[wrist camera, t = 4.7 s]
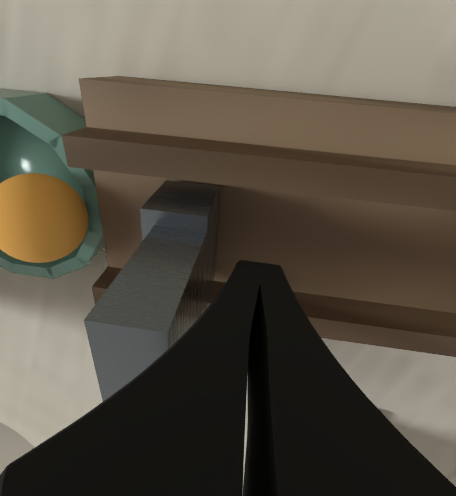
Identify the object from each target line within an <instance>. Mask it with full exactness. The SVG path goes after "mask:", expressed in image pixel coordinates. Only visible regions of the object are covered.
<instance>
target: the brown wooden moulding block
mask: <svg viewBox="0 0 456 496" xmlns="http://www.w3.org/2000/svg"><path fill="white" fill-rule="evenodd" d="M79 83H80V89H81V96H82V102H83V108H84V115H85V121H86V127H85V128H82V129H79V130H76V131H73V132H70V133H67V134H64V135H62V140H63V145H64V150H65V155H66V160H67V165H68V167H72V168H81V169H89V170H93V172H94V178H95V185H96V191H97V197H98V204H99V210H100V216H101V223H102V229H103V235H104V242H105V248H106V254H107V261H108V268H107V269H106V270H105V271H104V273H103V274H102V275H101V276H100V277H99V279H98V280H97V281H96V282H95V284H94V285H93V286H92V290H93V295H94V300H95V305H96V304H97V302H98V301H99V299H100V298H101V297H102V295H103V294H104V293H105V291H106V290H107V289H108V287H109V286H110V285H111V283H112V282H113V281H114V279H115V278H116V276H117V275H118V274H119V272H120V271H121V270H122V268H123V267H124V266H125V264H126V263H127V262H128V260H129V259H130V257H131V256H132V255H133V253H134V252H135V251H136V249H137V248H138V247H139V245H140V244H141V243H142V241H143V240H142V228H141V216H140V208H141V207H142V206H143V205H144V203H145V202H146V201H147V200H148V199H149V198H150V197H151V196H152V195H153V194H154V193H155V192H156V191H157V189H158V188H159V187H160V186H161V185H162V184H163V183H164V182H165V181H166V180H170V181H179V182H188V183H196V184H205V185H214V186H220V202H219V218H218V233H217V249H216V265H215V277H214V281H213V284H212V288H211V292H210V295H209V299H208V303H207V306H206V309H207V308H208V306H209V305H210V304H211V303H212V301H213V300H214V299H215V297H216V296H217V295H218V293H219V292H220V291H221V289H222V288H223V286H224V285H225V283H226V282H227V280H228V279H229V277H230V275H231V274H232V272H233V270H234V268H235V266H236V263H237V262H238V261H240V260H246V261H253V262H261V263H268V264H276V265H280V266H281V267H282V269H283V271H284V274H285V276H286V278H287V280H288V282H289V284H290V287H291V288H292V290H293V292H294V294H295V296H296V298H297V300H298V302H299V304H300V305H301V307H302V309H303V310H304V312H305V314H306V315H307V317H308V319H309V320H310V322H311V324H312V325H313V327H314V328H315V330H316V331H317V333H318V334H319V336H320V337H321V338H327V339H334V340H341V341H348V342H355V343H362V344H369V345H376V346H383V347H390V348H397V349H404V350H411V351H418V352H425V353H432V354H439V355H446V356H453V357H456V107H449V106H439V105H428V104H417V103H406V102H395V101H384V100H373V99H362V98H351V97H340V96H329V95H318V94H307V93H297V92H286V91H275V90H264V89H253V88H242V87H231V86H220V85H209V84H198V83H187V82H176V81H165V80H155V79H144V78H133V77H122V76H113V77H97V78H82V79H79Z"/></svg>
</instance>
